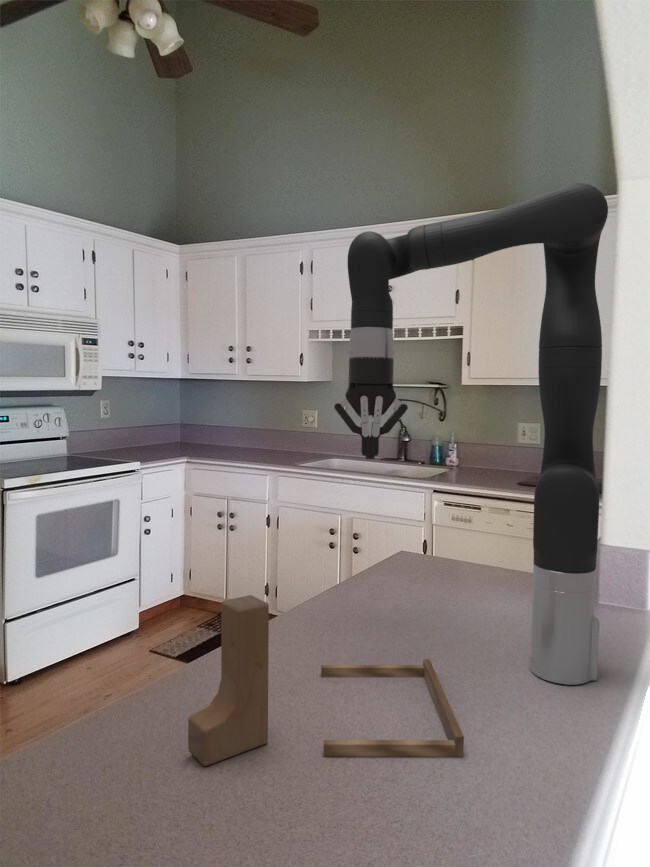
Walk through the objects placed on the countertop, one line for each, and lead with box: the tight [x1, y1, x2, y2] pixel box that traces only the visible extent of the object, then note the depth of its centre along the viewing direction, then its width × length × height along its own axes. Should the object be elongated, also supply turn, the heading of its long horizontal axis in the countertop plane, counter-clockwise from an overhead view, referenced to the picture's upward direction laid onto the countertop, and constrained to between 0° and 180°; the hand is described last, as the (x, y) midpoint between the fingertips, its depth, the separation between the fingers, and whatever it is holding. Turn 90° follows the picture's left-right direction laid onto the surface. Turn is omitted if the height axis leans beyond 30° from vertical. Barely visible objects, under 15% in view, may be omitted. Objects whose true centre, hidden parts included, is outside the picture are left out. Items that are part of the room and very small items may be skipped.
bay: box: [320, 658, 465, 758], centre depth 90 cm, size 17×23×2 cm
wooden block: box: [187, 594, 270, 767], centre depth 79 cm, size 9×4×18 cm, turn 127°
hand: (369, 458), depth 110 cm, fingers closed
